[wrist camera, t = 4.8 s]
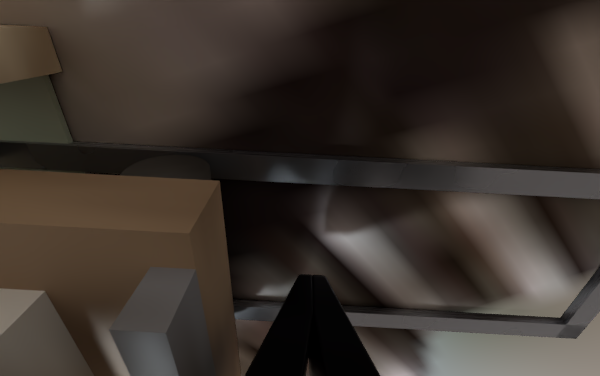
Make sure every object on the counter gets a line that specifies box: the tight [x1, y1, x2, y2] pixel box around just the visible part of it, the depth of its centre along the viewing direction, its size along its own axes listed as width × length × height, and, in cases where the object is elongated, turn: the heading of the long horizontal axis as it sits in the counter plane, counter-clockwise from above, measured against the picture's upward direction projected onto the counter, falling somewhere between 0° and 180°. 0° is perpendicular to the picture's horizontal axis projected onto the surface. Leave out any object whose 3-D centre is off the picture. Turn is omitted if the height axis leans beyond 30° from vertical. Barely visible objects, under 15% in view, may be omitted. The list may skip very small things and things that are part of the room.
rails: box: [0, 140, 600, 339], centre depth 10 cm, size 7×28×1 cm, turn 88°
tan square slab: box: [0, 155, 241, 376], centre depth 8 cm, size 8×10×5 cm
